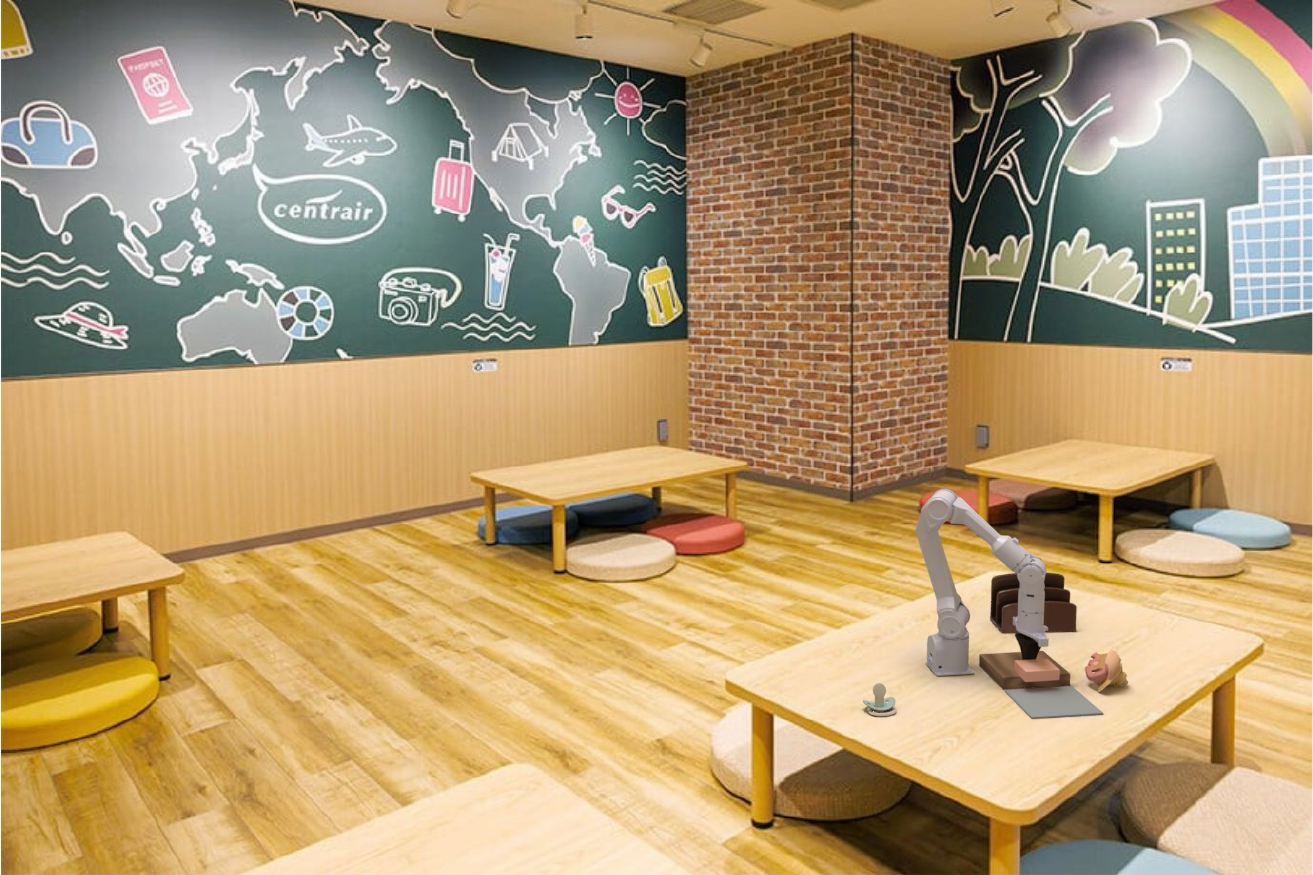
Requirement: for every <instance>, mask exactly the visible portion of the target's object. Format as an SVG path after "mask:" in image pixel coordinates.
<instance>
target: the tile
mask: <svg viewBox="0 0 1313 875" xmlns="http://www.w3.org/2000/svg"><path fill="white" fill-rule="evenodd" d="M1014 671H1015V672H1016V673H1017V674H1018V675H1019V676H1020V677H1021V678H1022V679H1023V680H1024V681H1025V682H1035V681H1052V680H1059V675H1060V670H1059V669H1058V668H1057V667H1056V666H1055V665H1054V664H1053V663H1052V662H1051V661H1050V660H1049V659H1033V660H1016V661H1014Z"/></svg>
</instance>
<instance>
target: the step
mask: <svg viewBox="0 0 1313 875" xmlns="http://www.w3.org/2000/svg"><path fill="white" fill-rule="evenodd" d="M978 659H979V660H978V665H979V667H980V668H981V669H982V670H983V671H984V673H986V675H988V676H989V677H990V679H992V680H993V682H994V683H995V684H997V686H999V687H1000V688H1001V689H1002V690H1003V691H1005V690H1013V689H1030V688H1047V687H1064V686H1071V673H1070V672H1069V671H1068V670H1067V669H1066V668H1064V666H1062V665H1061V664H1060V663H1058V662H1057V661H1056V660H1055V659H1053V658H1052V656H1050V655H1049V654H1047V653H1046V651H1044V650H1039V653H1038V655H1037V658H1036V659H1049V660H1050V661H1051V662H1052V663H1053V664H1054V665H1055V666H1056V667H1057V668H1058V669H1059V670H1060V675H1059V680H1052V681H1035V682H1025V681H1024V680H1023V679H1022V678H1021V677H1020V676H1019V675H1018V674H1017V673H1016V672H1015V671H1014V661H1016V660H1023V659H1022V654H1021V651H1015V652H996V653H994V652H993V653H979V658H978Z"/></svg>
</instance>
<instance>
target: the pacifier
mask: <svg viewBox="0 0 1313 875" xmlns="http://www.w3.org/2000/svg"><path fill="white" fill-rule="evenodd" d="M886 688H887V687H886V686H885V684H883V683H882V682H877V683H875V684H874V685H873V686H872V694H873V696H874V701H872V700H871V701H870V700H867V699H866V700H865V699H863V700H862V703H863V704H864V705H866V706H867V707H868V708H869V709H868V711H867V712H868V714H869V715H871V716H873V717H874V716H875V717H888V716H889V717H890V716H893V715H895V714H896V713H897V709H896V708H895V705H896V702H897V701H896V698H895V697H893V696H890V697H885V696H886V694H887V689H886ZM887 710H888V711H887ZM891 710H892V711H891ZM873 711H874V712H873ZM884 711H886V712H884ZM878 712H880V713H878Z"/></svg>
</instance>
